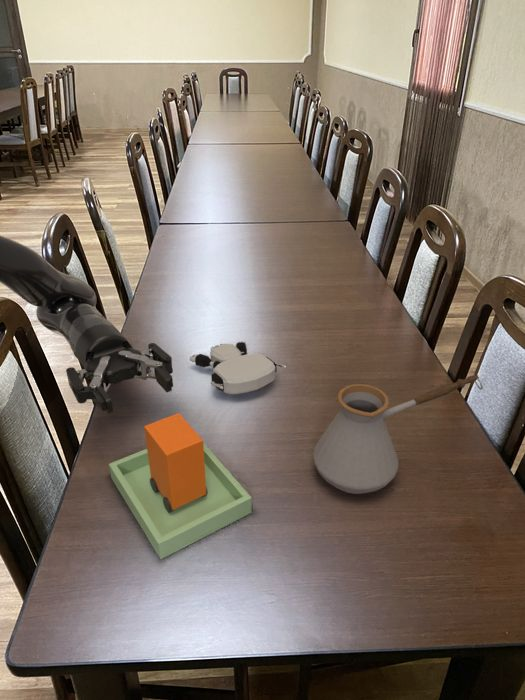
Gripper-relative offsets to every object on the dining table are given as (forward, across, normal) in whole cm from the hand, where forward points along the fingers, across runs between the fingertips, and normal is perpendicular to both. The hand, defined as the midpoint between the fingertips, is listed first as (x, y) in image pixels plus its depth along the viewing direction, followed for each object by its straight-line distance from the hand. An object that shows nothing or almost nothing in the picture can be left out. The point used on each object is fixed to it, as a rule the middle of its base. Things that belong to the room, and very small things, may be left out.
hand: (140, 396), depth 73 cm
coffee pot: (+22, +26, +10) cm, 36 cm away
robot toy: (-9, +21, +10) cm, 25 cm away
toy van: (+10, 0, +9) cm, 14 cm away
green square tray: (+10, 0, +10) cm, 14 cm away
